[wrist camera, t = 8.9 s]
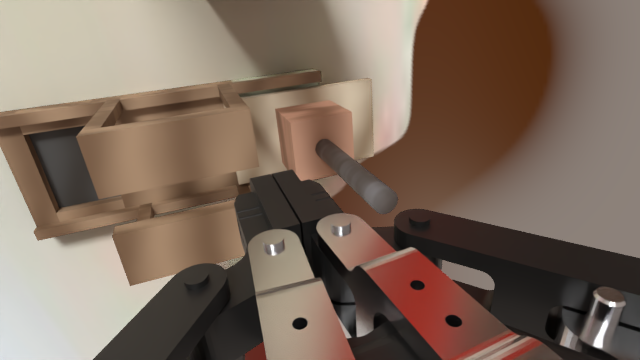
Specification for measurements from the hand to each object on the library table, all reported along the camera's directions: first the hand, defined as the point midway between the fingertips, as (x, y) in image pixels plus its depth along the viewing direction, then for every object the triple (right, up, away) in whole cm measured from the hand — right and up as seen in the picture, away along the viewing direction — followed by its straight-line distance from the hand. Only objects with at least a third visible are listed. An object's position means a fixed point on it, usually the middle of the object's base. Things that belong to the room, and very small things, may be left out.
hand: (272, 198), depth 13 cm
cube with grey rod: (0, +6, +29) cm, 30 cm away
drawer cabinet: (-13, +4, +27) cm, 30 cm away
